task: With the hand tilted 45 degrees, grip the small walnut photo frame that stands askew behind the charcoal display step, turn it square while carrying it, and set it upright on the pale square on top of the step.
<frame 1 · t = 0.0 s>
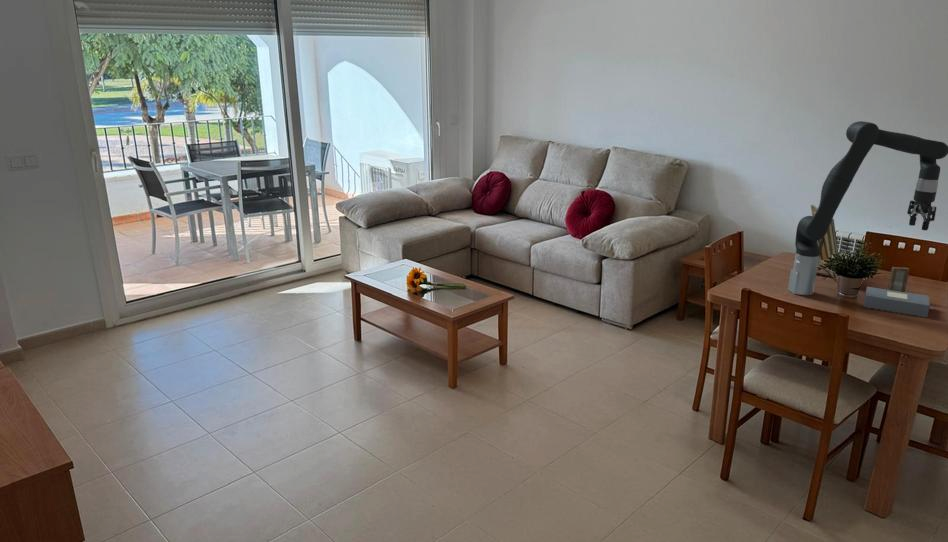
hand: (918, 227, 286), 29 cm above the table, tool pointing down, fingers open, 8 cm apart
display step: (894, 307, 277), on the table
walnut frame: (894, 297, 290), on the table
picture frame: (820, 274, 322), on the table
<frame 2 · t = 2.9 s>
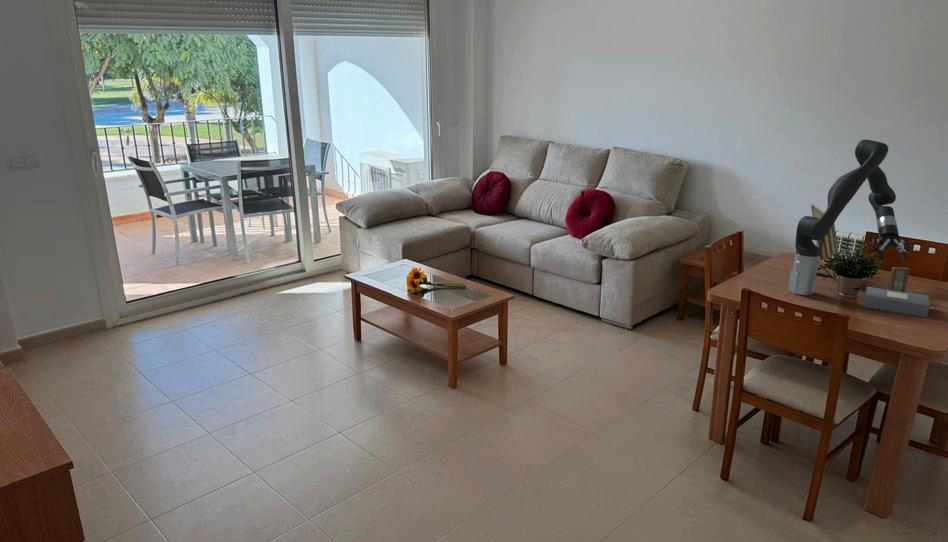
hand: (893, 260, 294), 14 cm above the table, tool tilted 45°, fingers open, 8 cm apart
nothing on the table moved.
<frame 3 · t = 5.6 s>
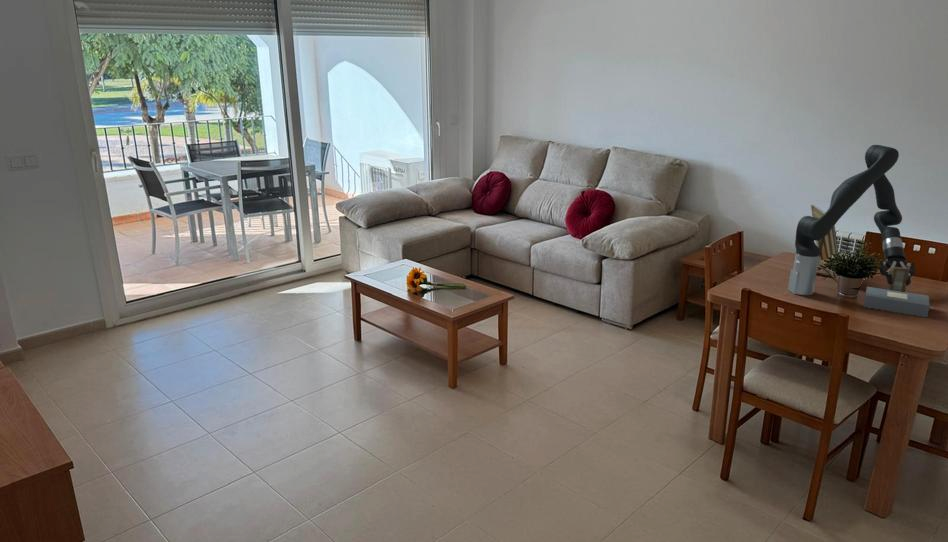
hand: (899, 284, 286), 6 cm above the table, tool tilted 45°, fingers closed on walnut frame, 6 cm apart
walnut frame: (895, 297, 290), on the table, touching gripper
everything else where it was.
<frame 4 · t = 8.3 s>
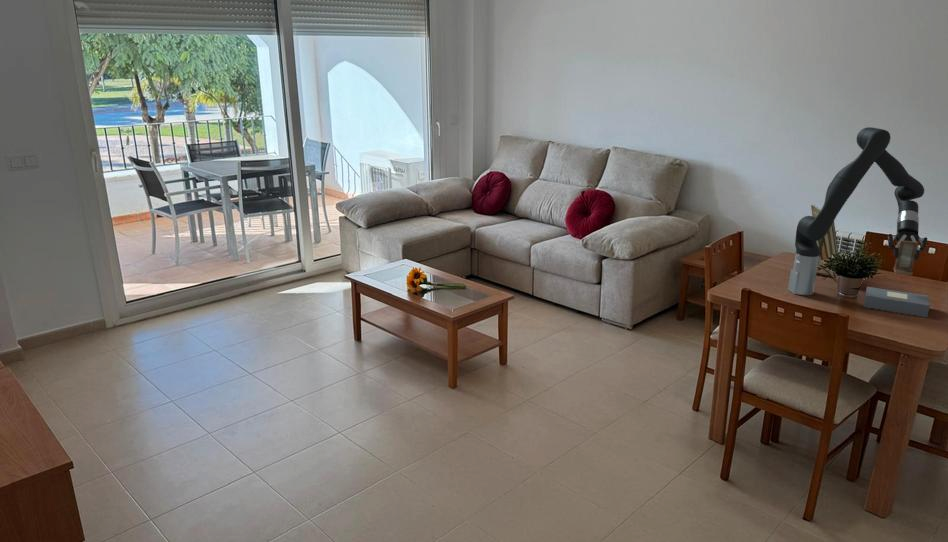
hand: (906, 258, 274), 20 cm above the table, tool tilted 45°, fingers closed on walnut frame, 6 cm apart
walnut frame: (902, 272, 277), point 14 cm above the table, touching gripper
everything else where it was.
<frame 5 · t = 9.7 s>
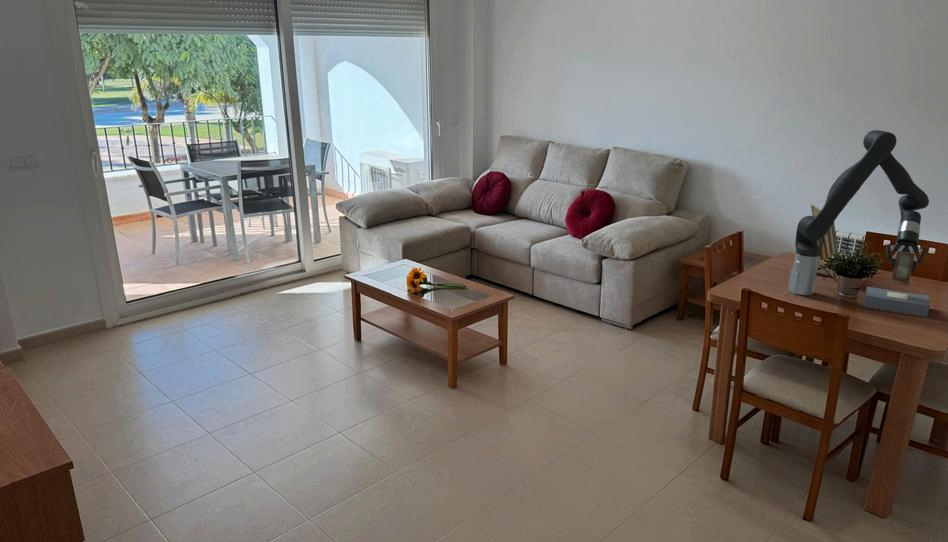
hand: (902, 269, 271), 17 cm above the table, tool tilted 45°, fingers closed on walnut frame, 6 cm apart
walnut frame: (899, 283, 274), point 10 cm above the table, touching gripper
everything else where it was.
when the fingers open (13 cm above the table, at t = 11.1 s): walnut frame drops 1 cm, resting on display step.
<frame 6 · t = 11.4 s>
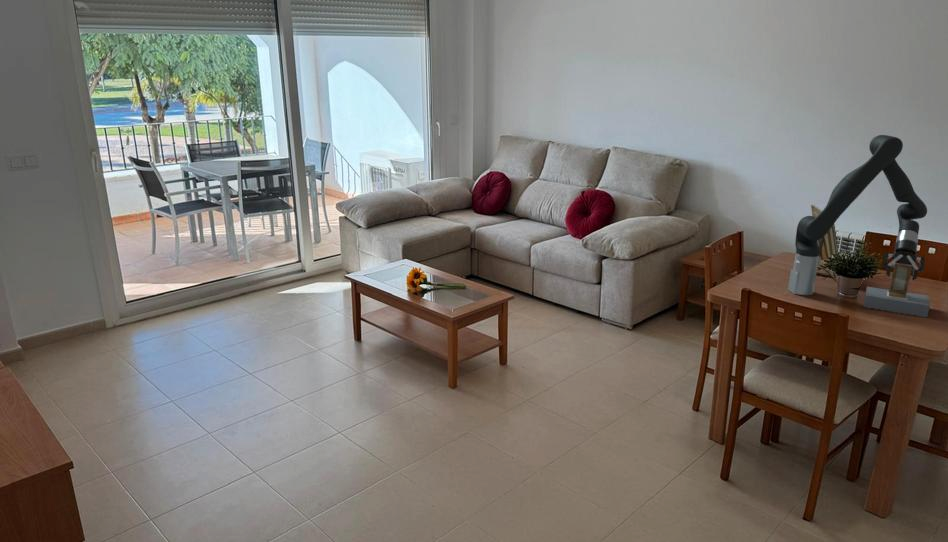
hand: (901, 277, 273), 13 cm above the table, tool tilted 45°, fingers open, 8 cm apart
walnut frame: (897, 295, 276), point 5 cm above the table, touching display step
everything else where it was.
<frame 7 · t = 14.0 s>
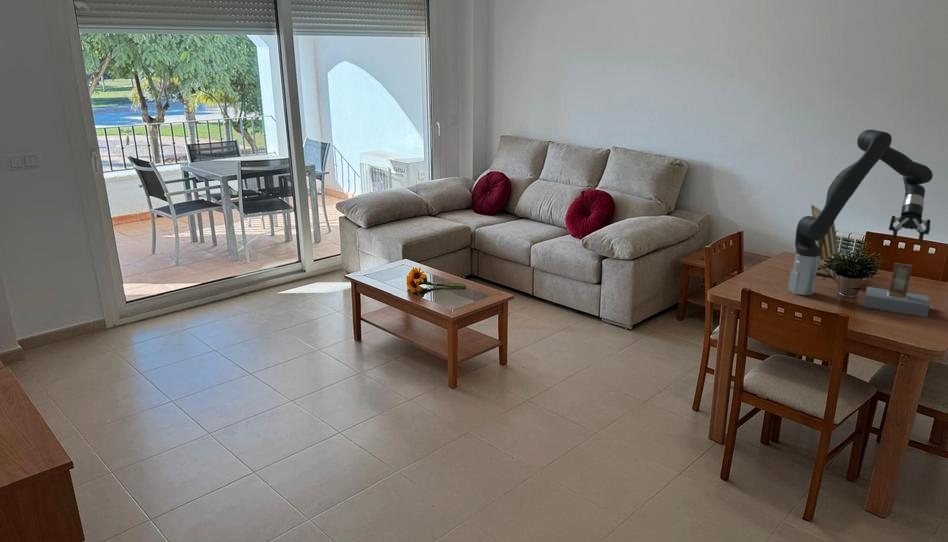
hand: (907, 239, 279), 26 cm above the table, tool tilted 45°, fingers open, 8 cm apart
nothing on the table moved.
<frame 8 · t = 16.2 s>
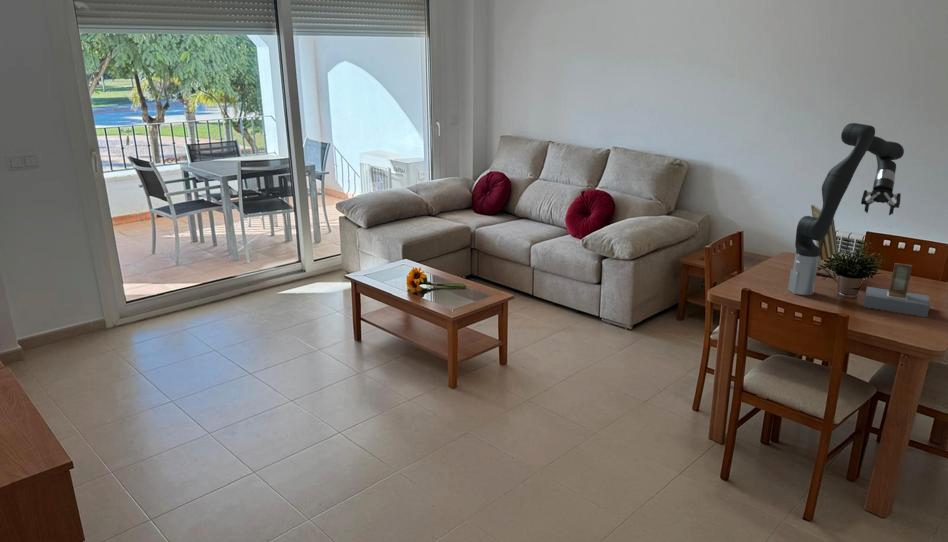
hand: (878, 213, 288), 35 cm above the table, tool tilted 45°, fingers open, 8 cm apart
nothing on the table moved.
at the end: walnut frame inside the target area on the display step (0.1 cm from its centre), point 5.2 cm above the display step's base; walnut frame tilted 0°; the gripper is holding nothing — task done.
